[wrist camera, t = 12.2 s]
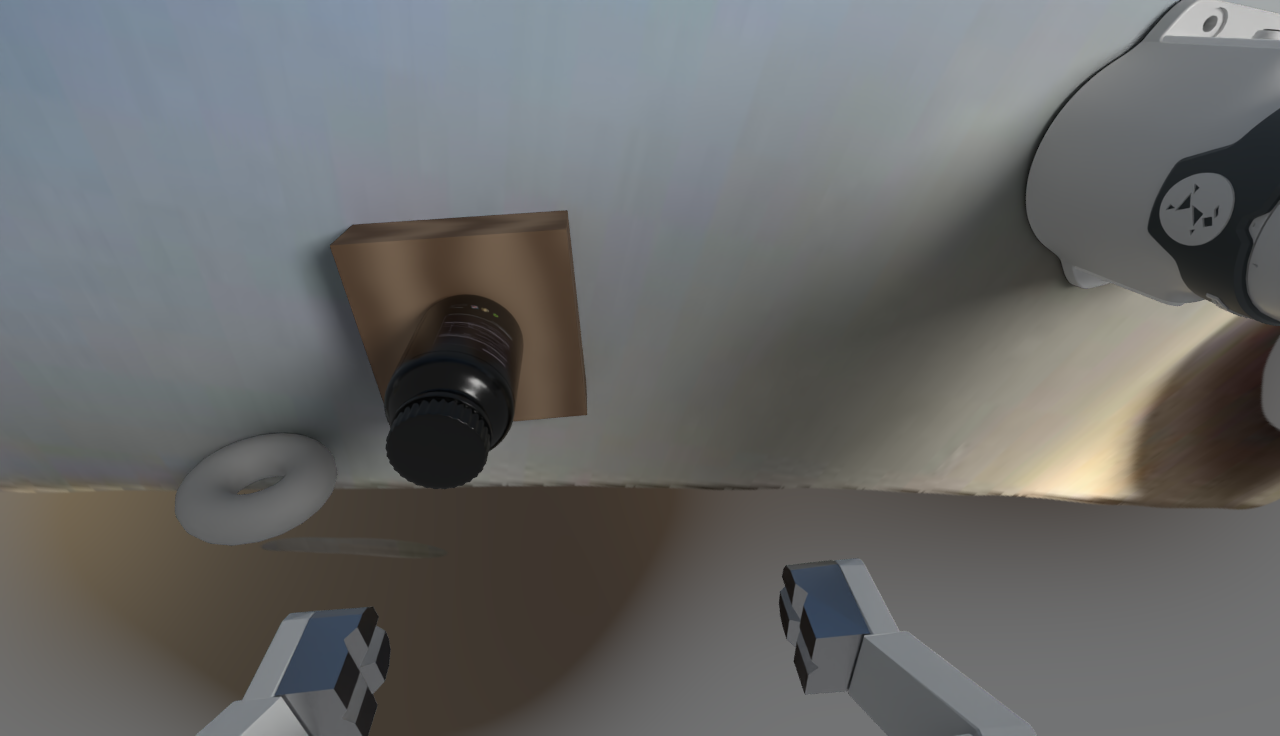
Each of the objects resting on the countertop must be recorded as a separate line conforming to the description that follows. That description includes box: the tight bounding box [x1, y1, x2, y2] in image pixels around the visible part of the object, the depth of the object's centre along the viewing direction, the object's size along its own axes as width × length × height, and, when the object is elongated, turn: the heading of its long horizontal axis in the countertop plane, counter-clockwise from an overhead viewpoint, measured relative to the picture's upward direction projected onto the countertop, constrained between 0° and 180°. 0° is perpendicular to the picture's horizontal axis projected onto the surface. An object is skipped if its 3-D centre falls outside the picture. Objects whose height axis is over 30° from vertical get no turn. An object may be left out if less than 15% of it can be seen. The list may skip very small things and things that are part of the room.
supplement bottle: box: [384, 294, 524, 489], centre depth 32 cm, size 7×7×12 cm
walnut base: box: [330, 210, 587, 421], centre depth 39 cm, size 14×14×4 cm
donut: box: [175, 433, 338, 546], centre depth 41 cm, size 10×3×10 cm, turn 86°
